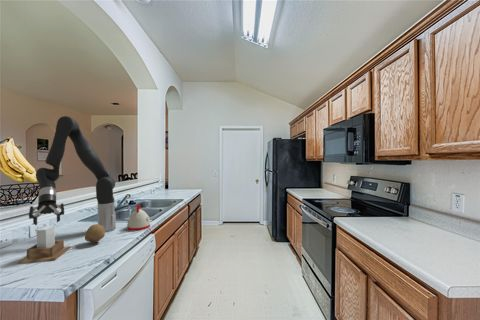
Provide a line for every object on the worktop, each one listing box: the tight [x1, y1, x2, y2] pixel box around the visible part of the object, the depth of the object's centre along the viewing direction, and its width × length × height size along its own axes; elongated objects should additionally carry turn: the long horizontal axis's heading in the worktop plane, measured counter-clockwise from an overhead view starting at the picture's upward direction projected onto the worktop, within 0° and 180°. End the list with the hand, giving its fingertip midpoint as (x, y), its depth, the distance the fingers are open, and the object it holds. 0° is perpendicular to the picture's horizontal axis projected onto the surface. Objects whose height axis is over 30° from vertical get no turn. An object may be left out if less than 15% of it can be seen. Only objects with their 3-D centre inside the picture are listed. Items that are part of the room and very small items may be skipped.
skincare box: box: [36, 225, 56, 248], centre depth 110 cm, size 6×4×12 cm
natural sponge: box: [84, 223, 106, 244], centre depth 126 cm, size 9×9×10 cm
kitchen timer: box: [126, 204, 151, 232], centre depth 153 cm, size 14×14×15 cm
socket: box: [17, 239, 71, 264], centre depth 110 cm, size 14×14×5 cm
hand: (47, 222), depth 119 cm, fingers open, 8 cm apart
